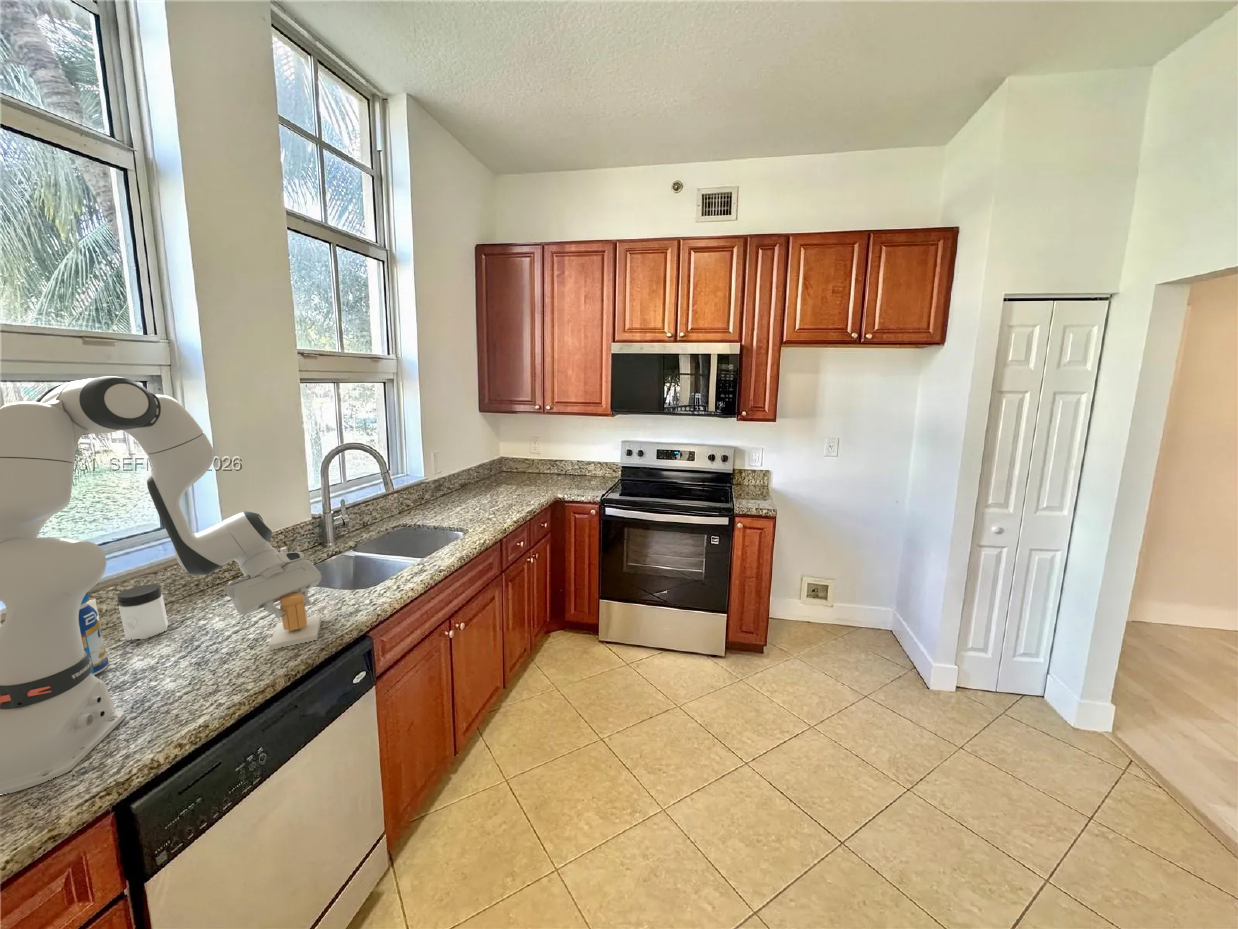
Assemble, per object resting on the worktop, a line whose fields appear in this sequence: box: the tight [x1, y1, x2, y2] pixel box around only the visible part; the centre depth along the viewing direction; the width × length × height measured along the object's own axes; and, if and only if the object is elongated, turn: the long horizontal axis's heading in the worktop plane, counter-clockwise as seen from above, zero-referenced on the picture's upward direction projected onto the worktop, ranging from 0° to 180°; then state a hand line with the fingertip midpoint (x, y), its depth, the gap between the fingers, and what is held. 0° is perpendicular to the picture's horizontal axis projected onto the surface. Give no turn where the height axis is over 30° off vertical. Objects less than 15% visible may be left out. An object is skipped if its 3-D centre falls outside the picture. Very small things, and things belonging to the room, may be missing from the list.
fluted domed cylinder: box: [279, 593, 307, 631], centre depth 127 cm, size 5×5×8 cm
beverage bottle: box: [79, 591, 110, 676], centre depth 111 cm, size 8×8×20 cm
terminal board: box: [268, 614, 322, 651], centre depth 128 cm, size 12×10×6 cm
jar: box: [116, 583, 169, 641], centre depth 129 cm, size 9×8×12 cm
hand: (295, 610), depth 127 cm, fingers closed on fluted domed cylinder, 5 cm apart
